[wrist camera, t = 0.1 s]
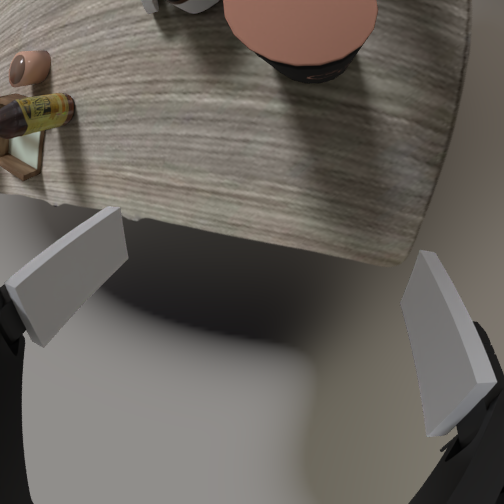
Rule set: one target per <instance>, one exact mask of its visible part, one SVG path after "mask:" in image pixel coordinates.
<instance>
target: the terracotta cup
mask: <svg viewBox="0 0 504 504" xmlns="http://www.w3.org/2000/svg"><path fill="white" fill-rule="evenodd" d="M50 65H51V58H50V55H49V53H48V52H47V51H23V52H18V53H17V54H16V55H15V56H14V58H13V60H12V62H11V65H10V69H9V81H10V84H11V85H12V86H13V87H20V86H26V85H33V84H39V83H42V82H43V81H44V80H45V78H46V77H47V75H48V73H49V70H50Z"/></svg>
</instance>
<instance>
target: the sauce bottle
mask: <svg viewBox="0 0 504 504" xmlns="http://www.w3.org/2000/svg"><path fill="white" fill-rule="evenodd" d="M73 114H74V103H73V100H72V98H71V96H69V95H67V94H64V93H56V94H48V95H41V96H34V97H28V98H22V99H17V100H14V101H12V102H11V103H9V104H7V105H6V106H4V107H2V108H0V137H2V138H3V139H12V138H15V137H18V136H19V137H20V136H24V135H28V134H31V133H35V132H39V131H43V130H47V129H51V128H56V127H59V126H61V125H65V124H67V123H68V122H69V121H70V120H71V118H72V116H73Z"/></svg>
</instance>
